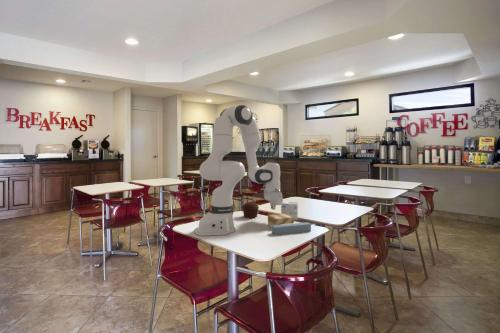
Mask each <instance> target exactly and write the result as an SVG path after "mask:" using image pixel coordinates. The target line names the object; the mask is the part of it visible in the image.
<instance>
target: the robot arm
mask: <svg viewBox="0 0 500 333" xmlns="http://www.w3.org/2000/svg"><path fill="white" fill-rule="evenodd" d="M234 127H239V129H240V134H241V139H242V143H243V146H244V151H245V159H246V163H247V171H246V168H245V165H244V164H243V163H242V162H240V161H236V160H235V161H234V160H223V159H224V157H225V156H226V155H228V154H230V153H231V152H232V150H233V146H234V143H233V142H234V140H233V139H234V130H233V129H234ZM261 143H262V139H261V132H260V129H259V126H258V123H257V119H256V118H255V117H254V116H253V113H252V111H251V108H250V107H249V106H247V105H245V104H240V105H235V106H233V105H232V106H229V107H228V108H225V109H223V110H222V111H221V112H220V114H219V116H218V117H216V118H215V120H214V124H213V131H212V147H211V151H210V153H209V156H208V157H207V159H205V160H204V161H203V162H202V163H201V164H200V165H199V175H200V176H201V178H202V179H205V180H207V181H220V182H222V184H221V185H220V186H218V187H216V188H215V189H214V190H213V191H212V194H211V195H212V205H209V204H208V205H207V206H206V209H207V210H208V212H207V213H206V214H205V215H203V217H201V218H200V219H199V222H198V227H195V228H194V234H196V235H198V236H200V237H202V236H203V237H204V236H223V235H224V236H225V235H230V234H231V233H234V232H235V231H236V228H235V224H234V222H235V221H234V216H233V215H234V205H233V194H234V189H235V187H236V185H237V184H238V183H239V182H240V181H241V180H242V179H243V178H244V177H245V175H246V177H247V179H248V180H249V181H250V182H252V183H257V184H264V185H263V197H264V200H266V201H268V202H269V204H270V209H271V210H273V211H274V210H276V208H277V206H281V205H282V204H283V202H284V198H283V193H282V191H281V167H280V164H279V163H278V162H274V161H268V162H267V163H265V164H263V165H262V166H259V164H258V160H257V153H256V152H257V149H258V148H259V147H260V146H261Z"/></svg>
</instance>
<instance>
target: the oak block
mask: <svg viewBox="0 0 500 333" xmlns="http://www.w3.org/2000/svg"><path fill="white" fill-rule="evenodd" d="M292 223H295V220H294V217H292V216H290V215H287V214H281V213H277V214H267V225H268V226H270V227H271V228H272V226H274V225H281V224H292Z"/></svg>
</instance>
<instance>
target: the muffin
mask: <svg viewBox="0 0 500 333" xmlns="http://www.w3.org/2000/svg"><path fill="white" fill-rule="evenodd" d="M241 208H242V213H243V217H244V218H245V219H256V218H255V217H257V218H258V213H259V212H258V211H259V208H260V206H258V204H257V203H256V202H254V201H248V202H245V203H244V204H243V205H242V207H241Z"/></svg>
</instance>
